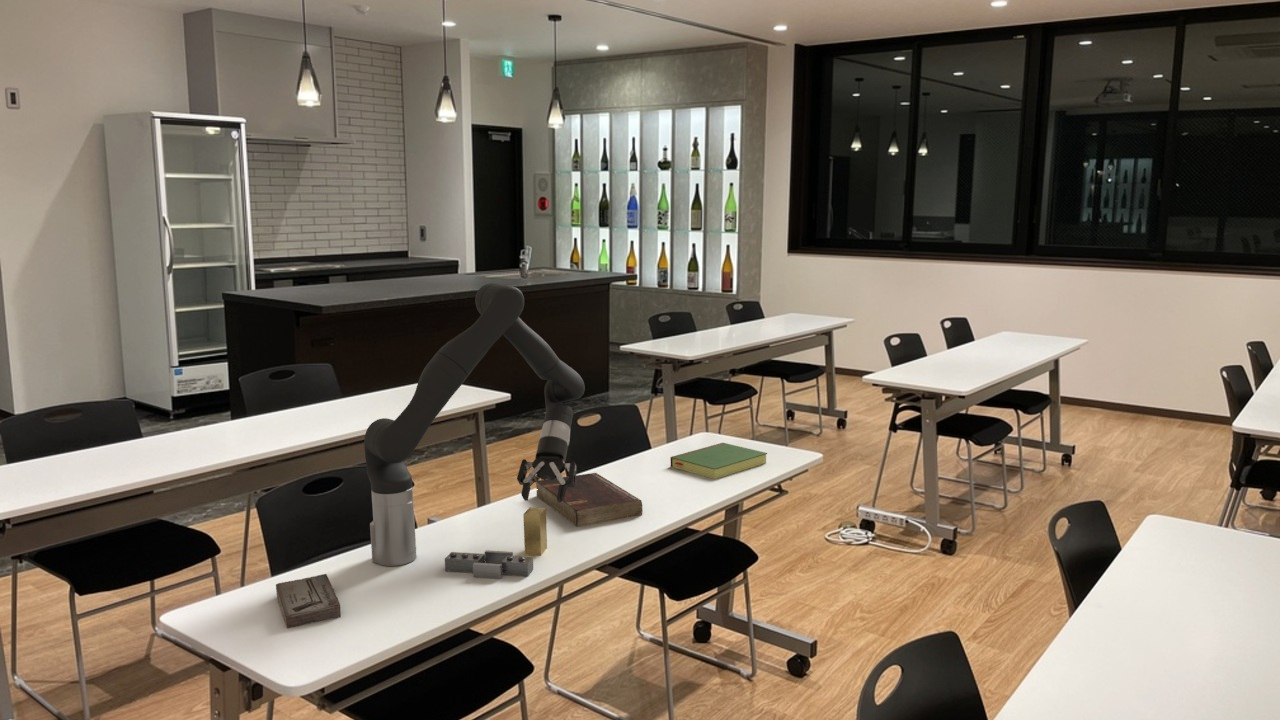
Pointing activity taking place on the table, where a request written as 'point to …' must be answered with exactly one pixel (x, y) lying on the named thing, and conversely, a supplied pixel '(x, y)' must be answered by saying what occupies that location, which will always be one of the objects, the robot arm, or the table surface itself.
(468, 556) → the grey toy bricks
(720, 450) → the hardcover book
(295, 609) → the box
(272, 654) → the table surface
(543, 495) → the hardback book
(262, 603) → the table surface
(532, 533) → the brass rectangular block
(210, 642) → the table surface
